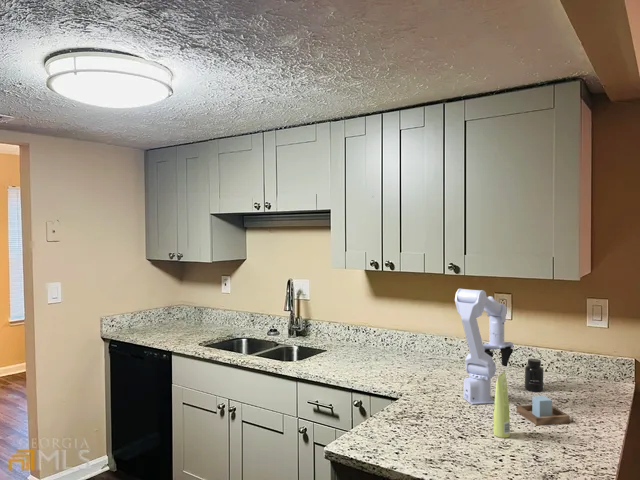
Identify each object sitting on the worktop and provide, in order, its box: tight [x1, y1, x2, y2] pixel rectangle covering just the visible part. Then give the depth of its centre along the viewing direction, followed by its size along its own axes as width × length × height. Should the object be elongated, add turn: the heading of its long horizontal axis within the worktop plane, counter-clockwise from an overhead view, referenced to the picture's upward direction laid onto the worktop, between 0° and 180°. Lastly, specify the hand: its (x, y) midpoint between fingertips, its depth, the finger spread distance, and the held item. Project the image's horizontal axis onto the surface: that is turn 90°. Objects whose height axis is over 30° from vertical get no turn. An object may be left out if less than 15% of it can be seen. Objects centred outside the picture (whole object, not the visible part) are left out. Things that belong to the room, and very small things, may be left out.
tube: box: [493, 370, 511, 439], centre depth 153 cm, size 6×5×20 cm
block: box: [531, 395, 553, 417], centre depth 167 cm, size 4×4×6 cm
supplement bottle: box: [524, 358, 544, 393], centre depth 196 cm, size 7×7×12 cm
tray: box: [516, 404, 571, 426], centre depth 167 cm, size 12×12×2 cm
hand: (496, 366), depth 196 cm, fingers open, 7 cm apart
